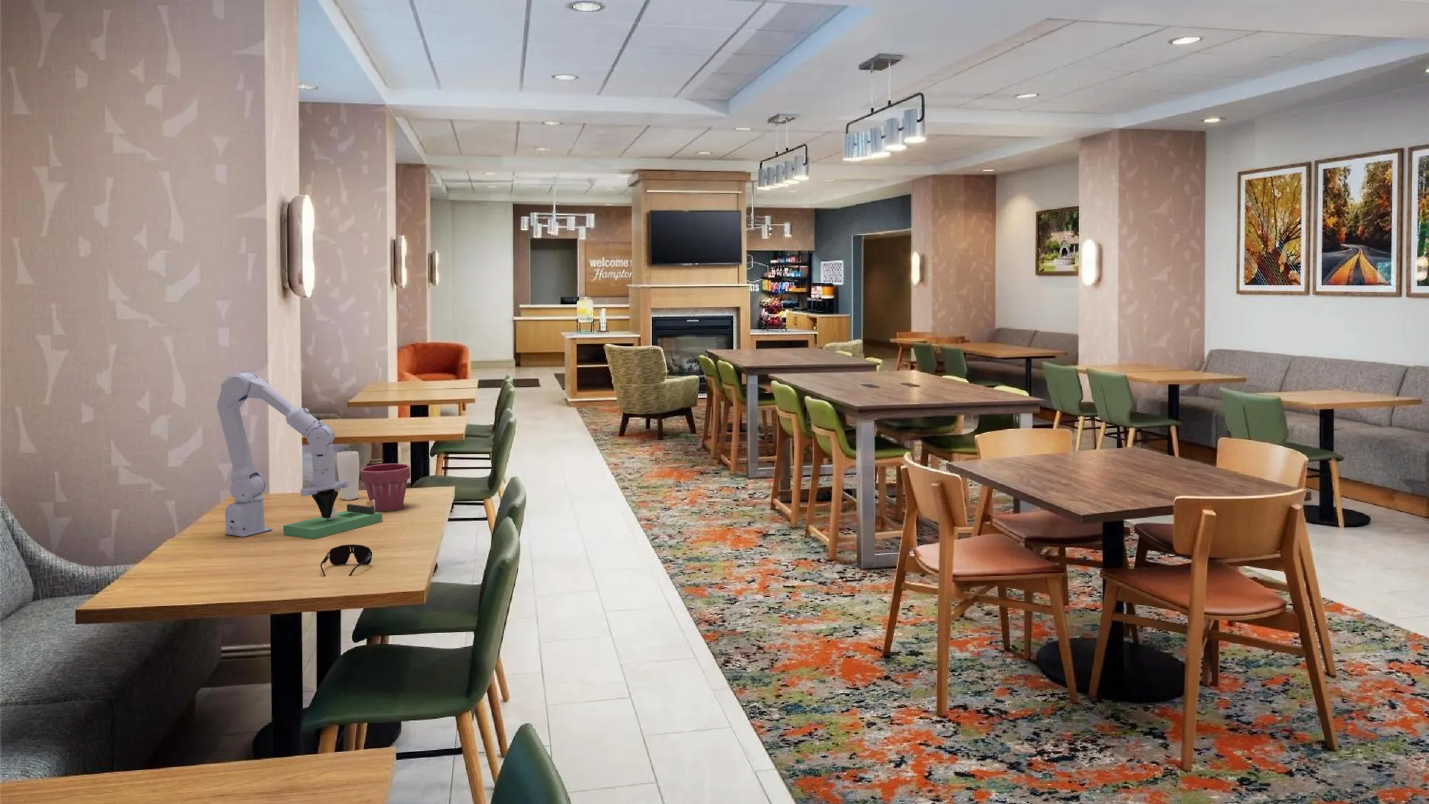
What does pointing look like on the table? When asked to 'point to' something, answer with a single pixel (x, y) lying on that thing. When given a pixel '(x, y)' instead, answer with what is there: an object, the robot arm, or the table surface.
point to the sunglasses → (348, 555)
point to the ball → (333, 515)
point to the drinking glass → (349, 473)
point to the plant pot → (386, 485)
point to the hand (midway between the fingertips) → (327, 517)
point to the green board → (335, 522)
